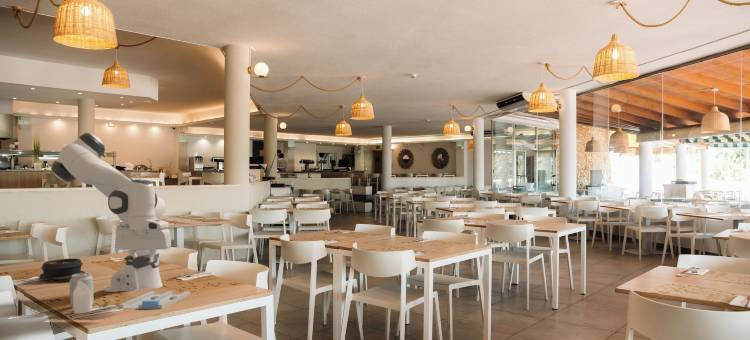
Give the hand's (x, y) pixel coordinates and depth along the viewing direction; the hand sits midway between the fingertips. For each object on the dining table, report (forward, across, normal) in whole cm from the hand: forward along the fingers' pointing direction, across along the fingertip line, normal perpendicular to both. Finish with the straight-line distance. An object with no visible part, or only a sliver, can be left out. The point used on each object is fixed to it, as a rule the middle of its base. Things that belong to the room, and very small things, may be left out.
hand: (143, 261), depth 188 cm
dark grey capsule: (+2, -1, +1) cm, 2 cm away
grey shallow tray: (+16, +4, +2) cm, 16 cm away
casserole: (+17, -69, +46) cm, 85 cm away
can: (+16, -22, -3) cm, 28 cm away
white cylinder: (+16, -16, -12) cm, 25 cm away
